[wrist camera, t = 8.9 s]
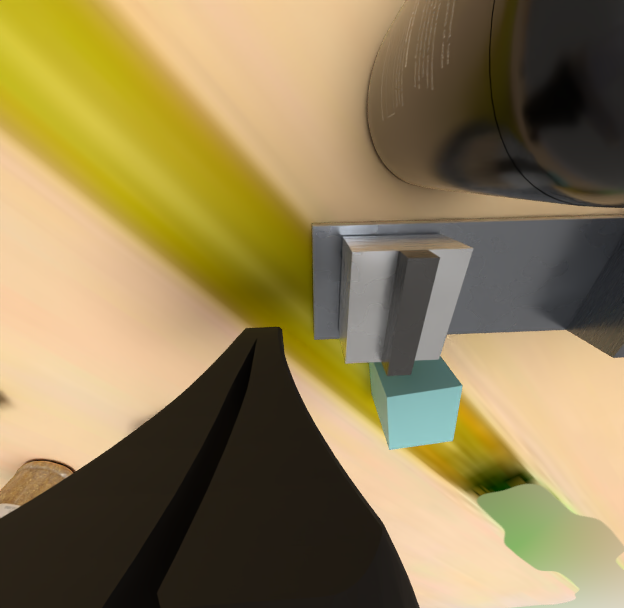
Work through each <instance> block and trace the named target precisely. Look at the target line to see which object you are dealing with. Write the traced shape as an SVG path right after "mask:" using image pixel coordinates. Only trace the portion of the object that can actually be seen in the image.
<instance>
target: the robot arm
mask: <svg viewBox="0 0 624 608" xmlns="http://www.w3.org/2000/svg"><path fill="white" fill-rule="evenodd" d="M0 608H419V605H418V602H417V599H416V596H415V594H414V591H413V588H412V585H411V583H410V580H409V578H408V575H407V573H406V571H405V569H404V566H403V564H402V562H401V560H400V557H399V555H398V553H397V551H396V549H395V547H394V545H393V543H392V541H391V539H390V536H389V534H388V532H387V530H386V528H385V526H384V524H383V522H382V521H381V520H380V518H379V517H378V516H377V514H376V513H375V512H374V510H373V509H372V508H371V506H370V505H369V504H368V502H367V501H366V500H365V498H364V497H363V496H362V494H361V493H360V491H359V490H358V489H357V487H356V486H355V485H354V483H353V482H352V480H351V479H350V478H349V476H348V475H347V473H346V472H345V470H344V469H343V467H342V466H341V464H340V463H339V461H338V460H337V458H336V457H335V456H334V454H333V452H332V451H331V449H330V447H329V446H328V444H327V443H326V441H325V439H324V438H323V436H322V434H321V433H320V431H319V430H318V428H317V426H316V425H315V423H314V421H313V419H312V417H311V416H310V414H309V412H308V410H307V408H306V406H305V404H304V402H303V400H302V398H301V396H300V394H299V392H298V390H297V387H296V385H295V383H294V380H293V378H292V375H291V373H290V370H289V367H288V364H287V361H286V358H285V354H284V345H283V335H282V329H281V328H280V327H264V328H246V329H245V330H244V331H243V332H242V333H241V334H240V335H239V336H238V337H237V338H236V340H235V341H234V342H233V343H232V344H231V345H230V346H229V347H228V348H227V349H226V351H225V352H224V353H223V354H222V355H221V356H220V357H219V358H218V359H217V360H216V361H215V362H214V363H213V364H212V365H211V366H210V367H209V368H208V369H207V370H206V371H205V372H204V373H203V374H202V375H201V376H200V377H199V378H198V379H197V380H196V381H195V382H194V383H193V384H192V385H191V386H190V387H189V388H187V389H186V390H185V391H184V392H183V393H182V394H181V395H179V396H178V397H177V398H176V399H175V400H174V401H172V402H171V403H170V404H169V405H167V406H166V407H165V408H164V409H163V410H161V411H160V412H159V413H158V414H156V415H155V416H154V417H153V418H151V419H150V420H149V421H147V422H146V423H144V424H143V425H142V426H140V427H139V428H138V429H136V430H135V431H134V432H132V433H131V434H129V435H128V436H127V437H125V438H124V439H123V440H121V441H120V442H118V443H117V444H116V445H114V446H113V447H112V448H110V449H109V450H107V451H106V452H104V453H103V454H101V455H100V456H98V457H97V458H95V459H94V460H92V461H91V462H90V463H88V464H87V465H85V466H84V467H82V468H81V469H79V470H77V471H76V472H74V473H73V474H71V475H70V476H68V477H67V478H65V479H63V480H62V481H60V482H59V483H57V484H56V485H54V486H53V487H51V488H49V489H48V490H46V491H45V492H43V493H41V494H40V495H38V496H37V497H35V498H33V499H32V500H30V501H29V502H27V503H25V504H23V505H22V506H20V507H18V508H17V509H15V510H13V511H12V512H10V513H8V514H7V515H5V516H3V517H2V518H0Z"/></svg>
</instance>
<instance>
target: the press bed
mask: <svg viewBox="0 0 624 608" xmlns="http://www.w3.org/2000/svg"><path fill="white" fill-rule="evenodd" d="M417 234H443V235H445V236H447V237H450V238H452V239H454V240H456V241H458V242H461V243H463V244H465V245H467V246H470V247H472V248H473V252H472V255H471V258H470V261H469V264H468V268H467V271H466V274H465V277H464V280H463V284H462V287H461V290H460V293H459V297H458V300H457V303H456V306H455V309H454V313H453V316H452V319H451V322H450V325H449V329H448V332H447V334H469V333H494V332H520V331H545V330H568V331H569V332H571V333H573V334H574V335H576V336H578V337H579V338H581V339H583V340H584V341H586V342H588V343H589V344H591V345H593V346H594V347H596V348H598V349H599V350H601V351H603V352H604V353H606V354H608V355H609V356H611V357H613V358H618V357H624V215H597V216H560V217H524V218H487V219H451V220H414V221H378V222H341V223H312V257H313V310H314V340H316V339H340V338H339V314H340V290H341V267H342V243H343V237H348V236H382V235H417Z"/></svg>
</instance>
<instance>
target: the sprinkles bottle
mask: <svg viewBox="0 0 624 608" xmlns="http://www.w3.org/2000/svg"><path fill="white" fill-rule="evenodd" d="M71 474H73V472H72V471H71V470H70V469H68V468H67V467H65V466H63V465H60V464H57V463H53V462H49V461H32V462H29V463H26V464H24V465H23V466H22V467H20V468H19V469H18V470H17V473H16V474H15V476H14V477H13V478H12V479H11V480H10V481H9V482H8V483H7V484H6V485H5V486H4V487H3V488H2V489H1V491H0V518H2V517H3V516H5V515H7V514H8V513H10V512H12V511H13V510H15V509H17V508H18V507H20V506H22V505H23V504H25V503H27V502H29V501H30V500H32V499H33V498H35V497H37V496H38V495H40V494H41V493H43V492H45V491H46V490H48V489H49V488H51V487H53V486H54V485H56V484H57V483H59V482H60V481H62V480H63V479H65V478H67V477H68V476H70V475H71Z"/></svg>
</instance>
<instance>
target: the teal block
mask: <svg viewBox="0 0 624 608" xmlns="http://www.w3.org/2000/svg"><path fill="white" fill-rule="evenodd" d="M369 369H370V380H371V391H372V396H373V399H374V402H375V406H376V409H377V412H378V415H379V418H380V422H381V425H382V428H383V431H384V434H385V437H386V441H387V444H388V447H389V450H392V449H399V448H406V447H413V446H420V445H427V444H434V443H441V442H448V441H453V438H454V432H455V426H456V420H457V414H458V409H459V403H460V397H461V391H462V384H461V383H460V382H459V380H458V379H457V378H456V376H455V375H454V374H453V372H452V371H451V370H450V368H449V367H448V366H447V364H446V363H445V362H444V360H443V359H442V358H441V356H440V358H439V360H416V361H414V365H413V369H412V373H411V375H400V376H387V375H386V373H385V370H384V368H383V365H382V363H381V362H369Z"/></svg>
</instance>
